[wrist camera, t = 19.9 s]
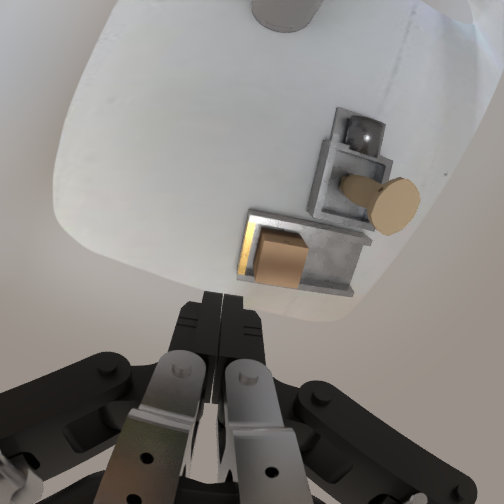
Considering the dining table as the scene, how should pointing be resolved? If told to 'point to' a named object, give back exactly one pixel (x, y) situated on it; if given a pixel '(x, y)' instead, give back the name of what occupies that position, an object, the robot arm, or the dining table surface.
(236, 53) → the dining table surface
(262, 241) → the tan cardboard box
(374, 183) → the handle
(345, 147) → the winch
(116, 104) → the dining table surface
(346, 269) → the bay
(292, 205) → the dining table surface
